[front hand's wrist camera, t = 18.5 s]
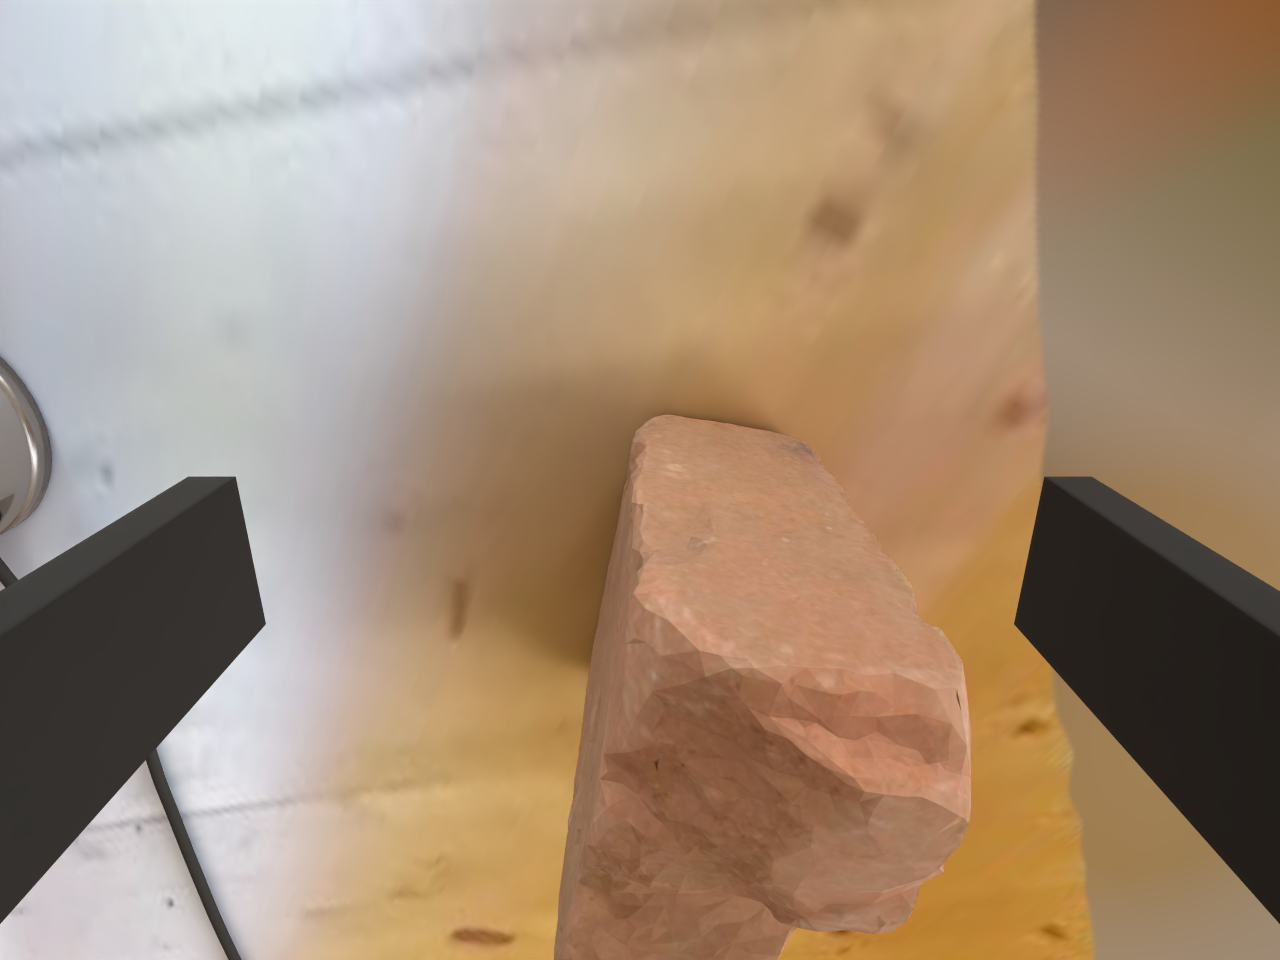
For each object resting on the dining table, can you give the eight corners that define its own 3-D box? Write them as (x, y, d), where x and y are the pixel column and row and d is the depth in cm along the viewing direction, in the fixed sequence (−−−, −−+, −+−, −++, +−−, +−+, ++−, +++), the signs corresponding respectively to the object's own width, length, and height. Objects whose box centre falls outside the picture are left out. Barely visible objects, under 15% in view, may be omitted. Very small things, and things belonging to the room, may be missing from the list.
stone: (734, 715, 54) (831, 1189, 27) (581, 692, 53) (525, 1154, 26) (808, 433, 47) (1034, 692, 20) (634, 402, 46) (633, 628, 20)
